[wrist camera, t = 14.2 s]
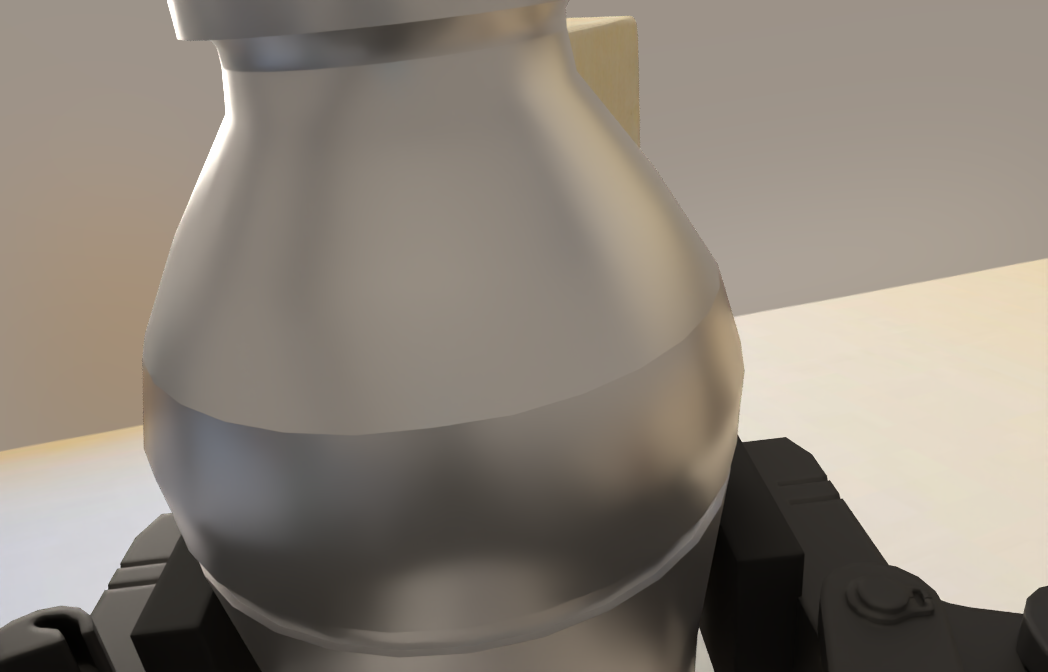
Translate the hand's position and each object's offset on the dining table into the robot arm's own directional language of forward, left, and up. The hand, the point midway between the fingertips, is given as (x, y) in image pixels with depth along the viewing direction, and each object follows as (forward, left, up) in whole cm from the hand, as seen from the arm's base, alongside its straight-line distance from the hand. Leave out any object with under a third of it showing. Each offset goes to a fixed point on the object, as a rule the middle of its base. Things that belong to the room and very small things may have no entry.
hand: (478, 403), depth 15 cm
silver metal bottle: (+4, -4, -11) cm, 12 cm away
